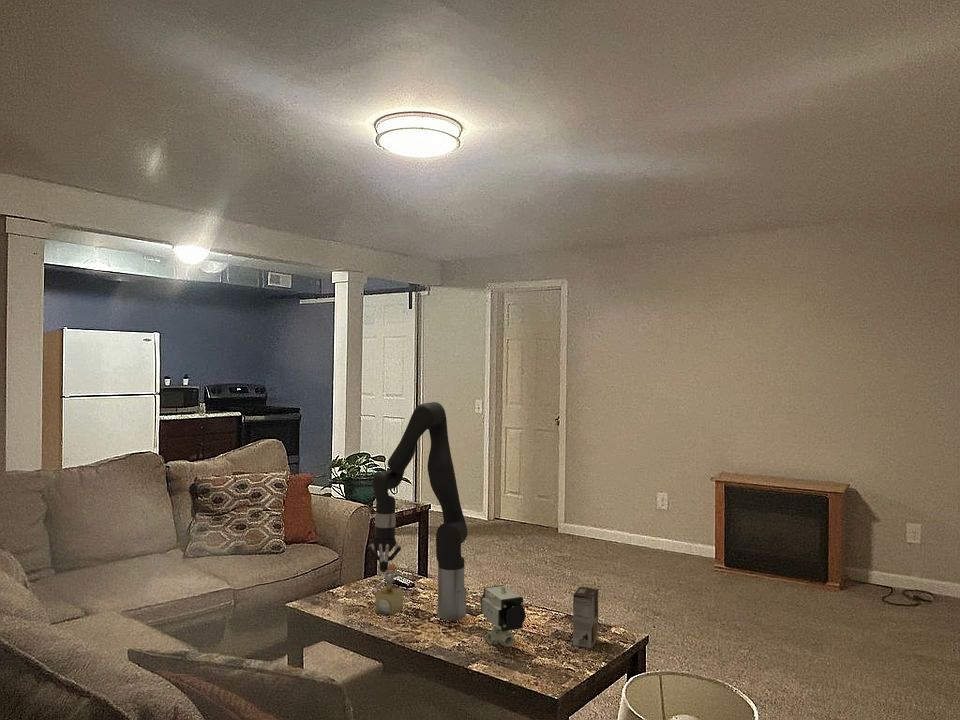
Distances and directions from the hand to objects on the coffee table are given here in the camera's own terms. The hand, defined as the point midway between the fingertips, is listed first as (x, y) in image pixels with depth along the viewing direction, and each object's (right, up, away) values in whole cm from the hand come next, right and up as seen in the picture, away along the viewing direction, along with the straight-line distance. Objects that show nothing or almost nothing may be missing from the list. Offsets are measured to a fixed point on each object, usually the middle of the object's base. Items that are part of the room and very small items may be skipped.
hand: (383, 571), depth 262 cm
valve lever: (+3, -1, -4) cm, 5 cm away
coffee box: (+69, -12, -36) cm, 79 cm away
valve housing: (+3, -11, -10) cm, 15 cm away
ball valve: (+42, -12, -38) cm, 58 cm away
